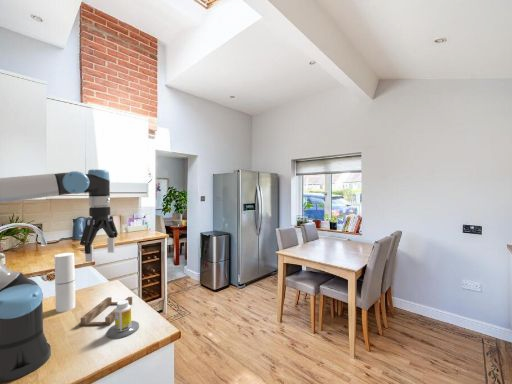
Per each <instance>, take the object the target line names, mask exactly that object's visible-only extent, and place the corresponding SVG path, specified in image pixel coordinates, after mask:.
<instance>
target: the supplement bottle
mask: <svg viewBox="0 0 512 384" xmlns="http://www.w3.org/2000/svg"><path fill="white" fill-rule="evenodd" d="M117 302H118V303H117V305H116V307H117V308H116V307H115V308H116V309H115V308H114V309H115V321H114V325H115V330H116V331H118V332H122V331H126V330H128V329H129V328H130V327H131V321H132V306H131V305H129V303H128V300H125V299H122V300H120V301H117Z"/></svg>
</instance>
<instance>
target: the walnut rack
mask: <svg viewBox="0 0 512 384" xmlns="http://www.w3.org/2000/svg"><path fill="white" fill-rule="evenodd" d="M124 300H128V303H129V305H130V306H131V305H133V296H128V297H126V299H124ZM118 302H119V301H112V297H111V296H109V297H106V298H105V299H104V300H102V301H100V303H98V304H96V306H94V307H93V308H92V309H91V310H89V311H88V312H87V313H85V314H84V315H83V316H81V317H80V318H79V319H80V327H92V326H94V327H96V326H97V327H98V326H100V327H101V326H112V324H113V323H115V309H116V308H117V303H118ZM110 306H116V307H115V308H114V309H113V310H112V311H111V312H110V313H109V314H107V315H106V316H105V318H104V319H105V321H93V320H94V319H95V318H96V317H98V316H99V315H100V314H101V313H102V312H104V311H105V310H106V309H108V307H110Z"/></svg>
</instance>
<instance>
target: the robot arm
mask: <svg viewBox="0 0 512 384" xmlns="http://www.w3.org/2000/svg"><path fill="white" fill-rule="evenodd" d="M110 182H111V179H110V173H109V171H108V170H106V169H88V171H87V173H86V174H85V173H83V172H81V171H78V170H74V171H68V172H57V173H46V174H32V175H22V176H21V175H20V176H9V177H0V204H5V203H12V202H20V201H25V200H33V199H40V198H42V199H43V198H48V197H55V196H66V195H72V194H74V195H75V194H77V195H78V194H82V193H84V194H85V193H86V194H87V193H88V206H89V209H88V216H89V217H90V218H91V219H86V220H85V223H84V224H85V225H84V229H83V233H82V235H81V239H80V243H79V245H80V246H84V254H85V263H87V262H88V263H89V262H90V263H93V262H94V261H95V259H94V258H95V257H94V244H93V242H94V240H95V237H96V235H97V234H98V232H99V231H100V230H102V229H103V230H104V232H105V234H106V235H107V236H108V238H107V239H106V240H107V241H106V242H107V253H111V254H113V253H115V252H116V251H115V250H116V249H115V248H116V247H115V243H116V241H115V238H118V235H119V233H118V230H117V227H116V225H115V222H114V217H113V215H111V206H110V205H111V197H110V194H111V191H110V187H111V185H110V184H111V183H110ZM43 299H44V293H43V290H42V288H41V286H40V285H39V284H38V283H37V281H35V280H33V279H32V278H28V277H27V276H26V275H24V273H22V272H21V271H20V270H13V271H12V270H10V269H9V268H8V267H7V266H6V265H5V264H3V263H2V262H1V261H0V383H1V384H3V383H6V382H11V381H13V380H16V379H19V378H21V377H23V376H26V375H28V374H30V373H33V372H34V371H36V370H37V369H39V368H40V367H42V366H43V365H44V364H45V363H47V362H48V361H49V359H50V357H51V355H52V353H51V352H52V351H51V350H52V349H51V345H50V343H49V342H48V340H47V338H46V335H45V333H44V311H43V309H44V308H43Z"/></svg>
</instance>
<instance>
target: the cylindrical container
mask: <svg viewBox="0 0 512 384" xmlns="http://www.w3.org/2000/svg"><path fill="white" fill-rule="evenodd" d="M75 273H76V271H75V253H74V252H63V253H62V252H61V253H58V254H54V284H55V286H54V287H55V289H54V291H55V293H54V294H55V312H56V313H65V312H68V311H71V310H73V309H75V307H76V281H75V280H76V278H75V277H76V275H75Z"/></svg>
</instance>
